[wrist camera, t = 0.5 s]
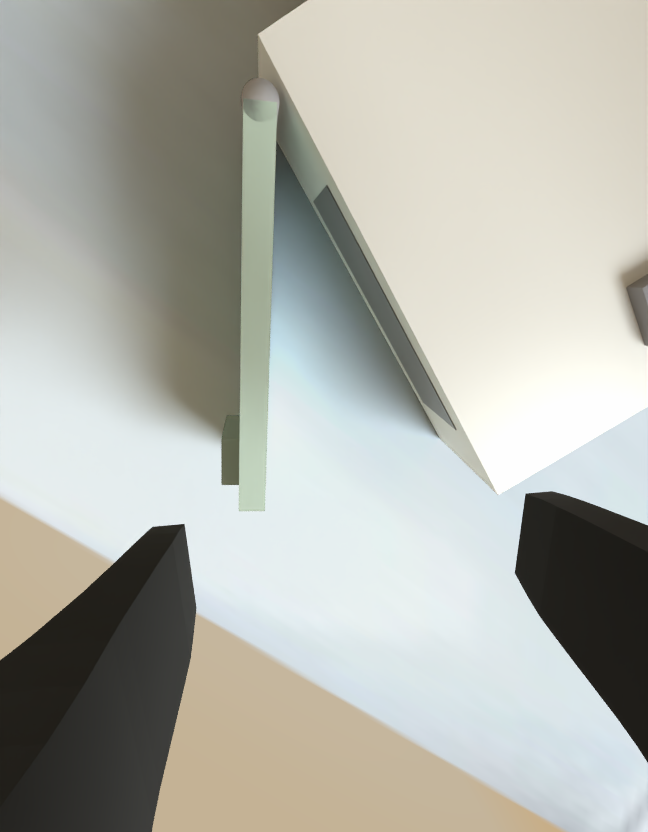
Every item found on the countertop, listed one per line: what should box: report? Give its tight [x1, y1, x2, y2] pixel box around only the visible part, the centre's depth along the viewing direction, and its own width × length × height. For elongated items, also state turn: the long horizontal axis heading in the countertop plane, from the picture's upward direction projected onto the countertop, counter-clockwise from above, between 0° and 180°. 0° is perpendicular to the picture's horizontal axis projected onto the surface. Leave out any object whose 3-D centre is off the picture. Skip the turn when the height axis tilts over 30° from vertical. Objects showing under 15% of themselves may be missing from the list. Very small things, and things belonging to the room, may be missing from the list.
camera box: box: [258, 0, 648, 495], centre depth 14 cm, size 10×16×6 cm, turn 31°
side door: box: [222, 78, 279, 511], centre depth 14 cm, size 2×11×4 cm, turn 176°
